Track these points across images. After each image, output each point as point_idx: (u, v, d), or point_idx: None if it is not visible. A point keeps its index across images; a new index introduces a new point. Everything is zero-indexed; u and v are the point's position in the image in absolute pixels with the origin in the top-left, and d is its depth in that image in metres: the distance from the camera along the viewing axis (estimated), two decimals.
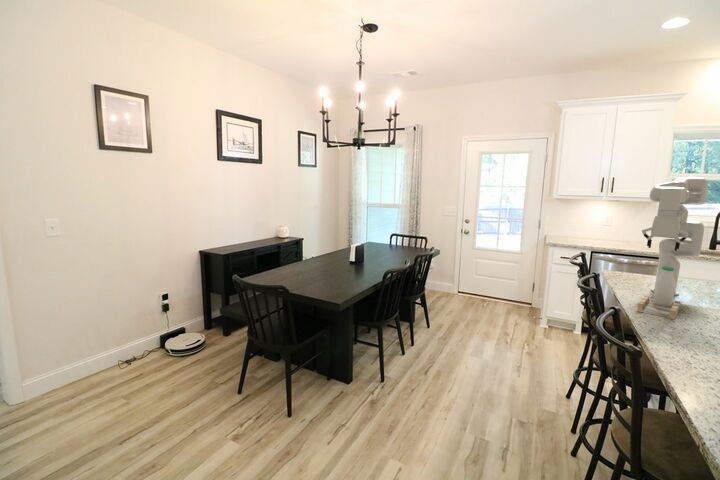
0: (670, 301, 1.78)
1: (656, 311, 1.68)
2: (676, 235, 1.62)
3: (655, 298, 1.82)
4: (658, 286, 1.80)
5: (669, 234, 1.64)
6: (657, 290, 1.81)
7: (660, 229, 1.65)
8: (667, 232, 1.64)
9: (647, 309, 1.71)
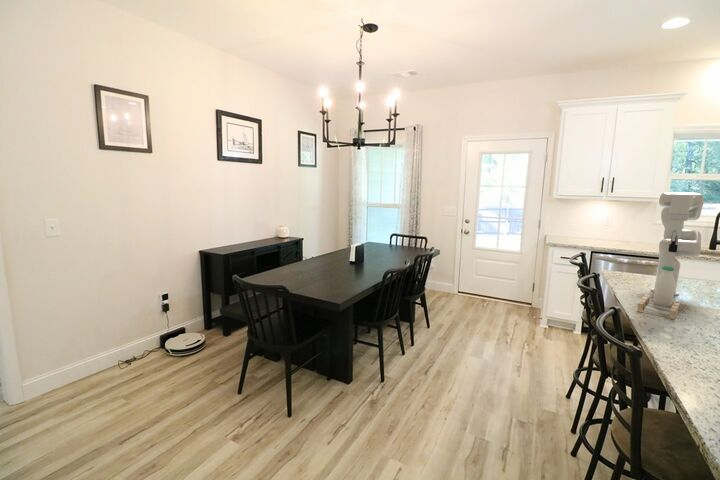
0: (670, 301, 1.78)
1: (656, 311, 1.68)
2: None
3: (655, 298, 1.82)
4: (658, 286, 1.80)
5: (681, 235, 1.82)
6: (657, 290, 1.81)
7: (681, 232, 1.79)
8: (681, 234, 1.81)
9: (647, 309, 1.71)
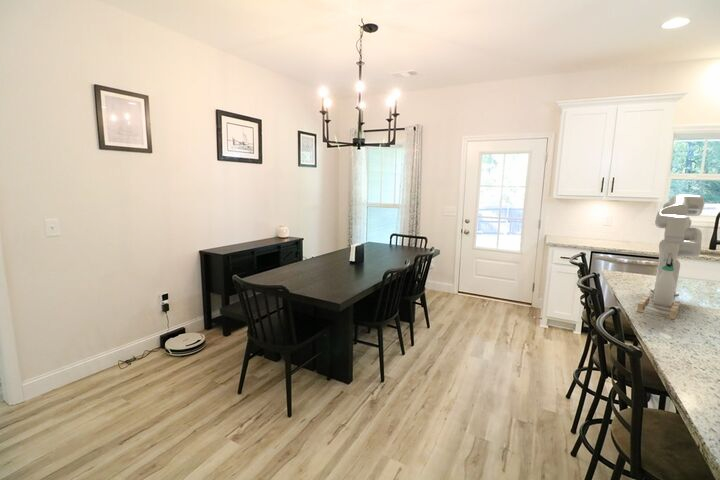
0: (670, 301, 1.78)
1: (656, 311, 1.68)
2: None
3: (655, 298, 1.82)
4: (658, 286, 1.80)
5: (676, 258, 1.81)
6: (657, 290, 1.81)
7: (677, 255, 1.79)
8: (676, 256, 1.80)
9: (647, 309, 1.71)
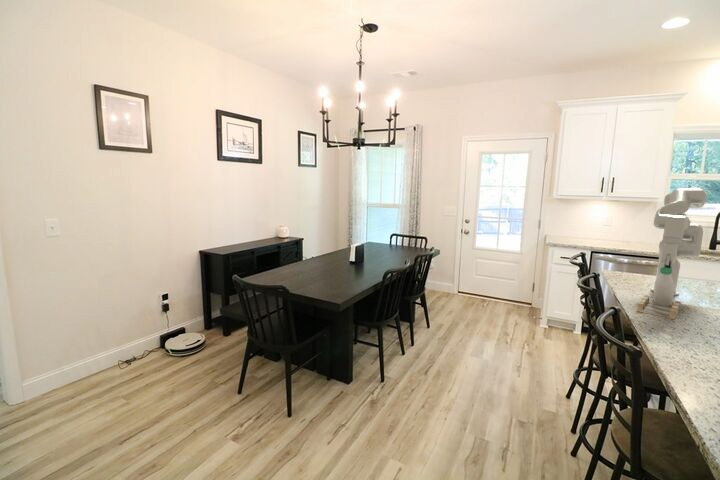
0: (670, 301, 1.77)
1: (656, 311, 1.68)
2: None
3: (655, 298, 1.81)
4: (657, 288, 1.78)
5: (675, 259, 1.76)
6: (656, 292, 1.79)
7: (675, 256, 1.74)
8: (675, 257, 1.76)
9: (647, 309, 1.71)
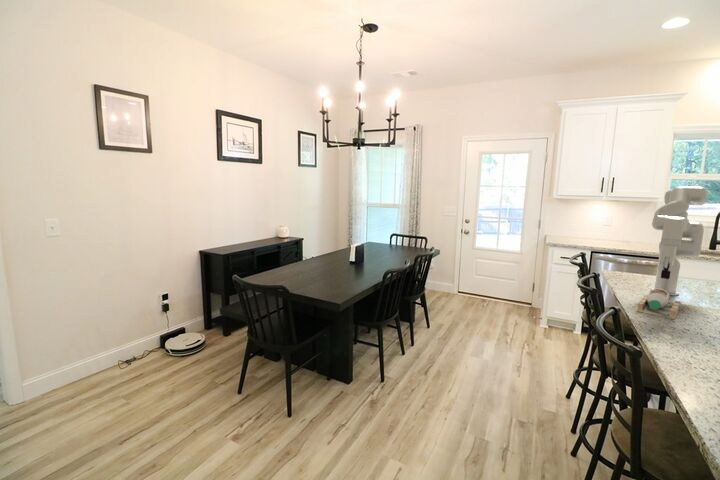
0: None
1: (656, 311, 1.68)
2: None
3: None
4: None
5: (674, 261, 1.73)
6: None
7: (674, 258, 1.71)
8: (673, 259, 1.72)
9: (647, 309, 1.71)
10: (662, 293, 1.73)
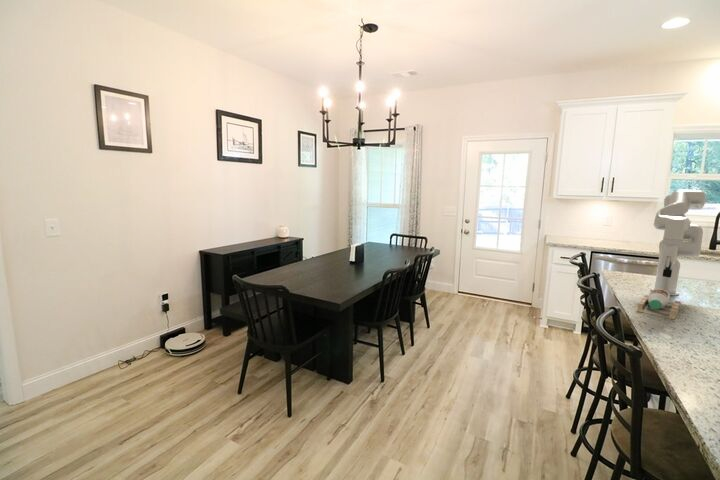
0: None
1: (656, 311, 1.68)
2: None
3: None
4: None
5: (675, 260, 1.78)
6: None
7: (675, 257, 1.76)
8: None
9: (647, 309, 1.71)
10: (663, 293, 1.72)
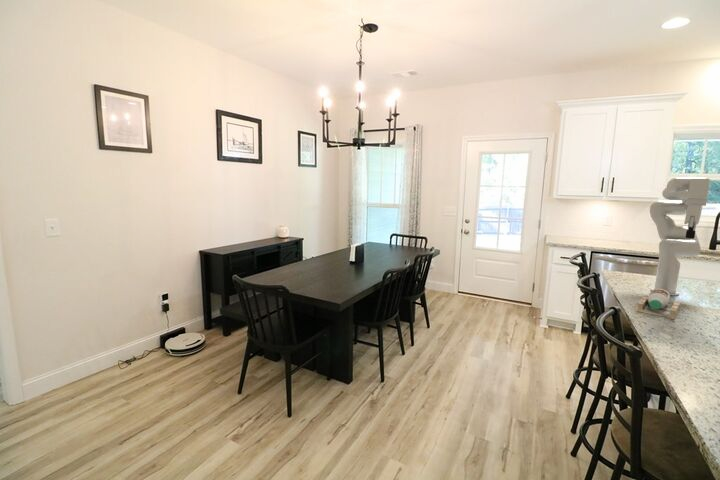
0: None
1: (656, 311, 1.68)
2: None
3: None
4: None
5: None
6: None
7: (699, 218, 1.74)
8: (699, 219, 1.76)
9: (647, 309, 1.71)
10: (663, 293, 1.72)
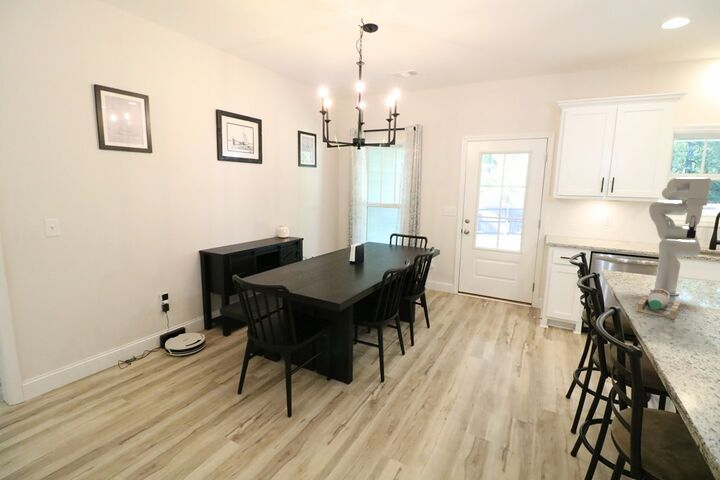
0: None
1: (656, 311, 1.68)
2: None
3: None
4: None
5: (699, 221, 1.76)
6: None
7: (700, 217, 1.74)
8: (699, 219, 1.76)
9: (647, 309, 1.71)
10: (663, 293, 1.72)
